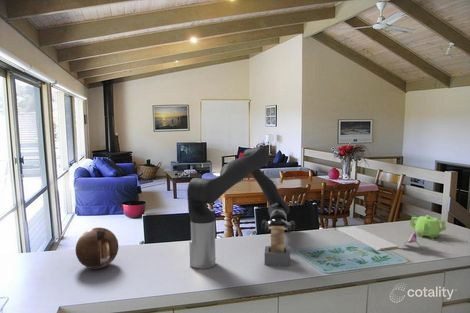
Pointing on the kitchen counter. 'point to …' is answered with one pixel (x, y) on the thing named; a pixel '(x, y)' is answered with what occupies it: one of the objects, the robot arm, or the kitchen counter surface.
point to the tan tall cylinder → (277, 239)
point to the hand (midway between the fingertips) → (277, 230)
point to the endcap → (277, 257)
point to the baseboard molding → (367, 238)
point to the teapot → (427, 226)
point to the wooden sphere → (96, 248)
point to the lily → (413, 238)
